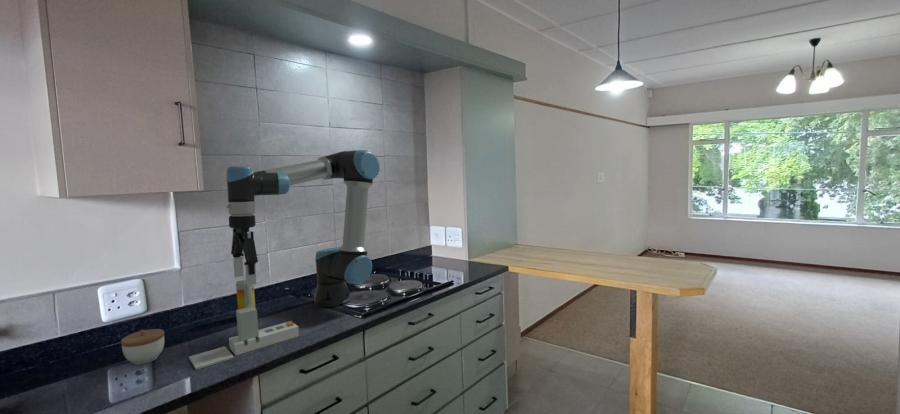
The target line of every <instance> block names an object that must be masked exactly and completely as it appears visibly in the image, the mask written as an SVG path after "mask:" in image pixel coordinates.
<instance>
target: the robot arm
mask: <svg viewBox="0 0 900 414" xmlns="http://www.w3.org/2000/svg"><path fill="white" fill-rule="evenodd" d="M380 170H381V169H380V161H379V159H378V157H377V156H376V154H374V153H373V152H372V151H371V150H366V149H357V150H344V151H339V152H336V153H335V152H334V153H332V154H329V155H325V156H320V157H318V159H317V160H311V161H305V162H300V163H295V164H291V165H290V164H289V165H284V166H279V167H275V168H269V169H264V170H258V171H254V168H253V167H252V166H247V165H246V166H245V165H243V166H241V165H240V166H239V165H238V166H237V165H236V166H233V165H232V166H229V167H228V168H227V169H226V185H227V186H226V187H227V204H226V207H225V208H227V209H228V214H229V215H230V216H229V217H228V227H229V228H230V229H232V239H231V240H232V243H231V251H230V253H231V256H232V257H233V277H234V278H242V277H245V278H246V285H247V286H248V285H253V284H254V285H257V273H256V272H257V270H256V269H257V268H256V264H257V263H258V261H259V260H258V255H257V249H256V245H255V244H256V243H255V237H254V231H250V228H254V227H256V216H255V215H254V214H255V213H256V205H255V204H256V201H255V197H256V196H258V197H259V196H279V195H280V196H281V195H286V194H287V193H288V192H289V191H290V188H291V186H294V185H297V184H299V185H300V184H303V183H306V182H307V183H308V182H311V181H316V180H321V179H323V180H332V179H333V180H334V179H343V183H344V185H346V197H345V210H344V223H343V224H344V225H343V234H342V235H343V236H342V245H340V246H338V247H329V248H325V249H320V250H318V251H316V253H315V270H316V271H315V272H316V284H317V285H316V288H315V293H314V297H313V304H314V305H315V306H317V307H322V308H331V307H333V308H334V307H338V305H339V306H341V305H340V304H341V303H342V302H343V301H344V300H346V299H348V298H349V297H350V298H351V293H350V290H349V287H348V285H347V284H350V285H351V284H353V285H359V284H362V283H364V282H366V280H367V279H368V278H369V277H370V275H371V274H372V270H373V263H372V260H371V258H370V257H369V256H368V249H367V247H365V240H366V237H365V236H366V225H367V211H368V199H369V188H371V186H372V185H373V183H374V182H373V181H374V179H375V178H377V176H378V175H379V174H380ZM244 259H245V261H244ZM244 266H245V267H244ZM244 268H245V274H244ZM244 275H245V276H244Z"/></svg>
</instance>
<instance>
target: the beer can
mask: <svg viewBox="0 0 900 414" xmlns="http://www.w3.org/2000/svg"><path fill="white" fill-rule="evenodd" d="M235 286H236V287H235V288H236V300H237V302H236V303H237V310H239V309H243V308H247V307H252V306H253V307H254V308H255V309H257V308H256V299H255V298H256V297H255V284H253V285H248V286H247V285H246V277H240V278H238V279H237V280H236V283H235Z"/></svg>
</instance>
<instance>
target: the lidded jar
mask: <svg viewBox="0 0 900 414" xmlns="http://www.w3.org/2000/svg"><path fill="white" fill-rule="evenodd" d="M120 345H121V349H122V350H121V351H122V354H123V356H124V358H125V359H126V360H127V361H128V362H131V363H132V364H134V365H145V364H149V363H152V362H153V361H155V360H157V359H158V357H159V355H160V354H161V353H162V351H163V350H164V347H165V331H164V329H161V328H160V329H159V328H151V329H142V330H141V329H140V330H139V331H135V332H133V333H130V334H128V335H126V336H124V337H122V338H121V340H120Z"/></svg>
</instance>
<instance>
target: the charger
mask: <svg viewBox="0 0 900 414" xmlns="http://www.w3.org/2000/svg"><path fill="white" fill-rule="evenodd" d="M255 308H256V307H255ZM255 308H254V307H253V306H252V307H247V308H243V309H239V310H238V309H236V310H235V315H236V326H237V327H236V328H237V336H238V337H239V338H240V339H241V340H242V341H244V344H247V340H248V339H252V338H255V339H256V337H259V331H258V330H259V322H258V321H259V320H258V310H257V308H256V309H255Z"/></svg>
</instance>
